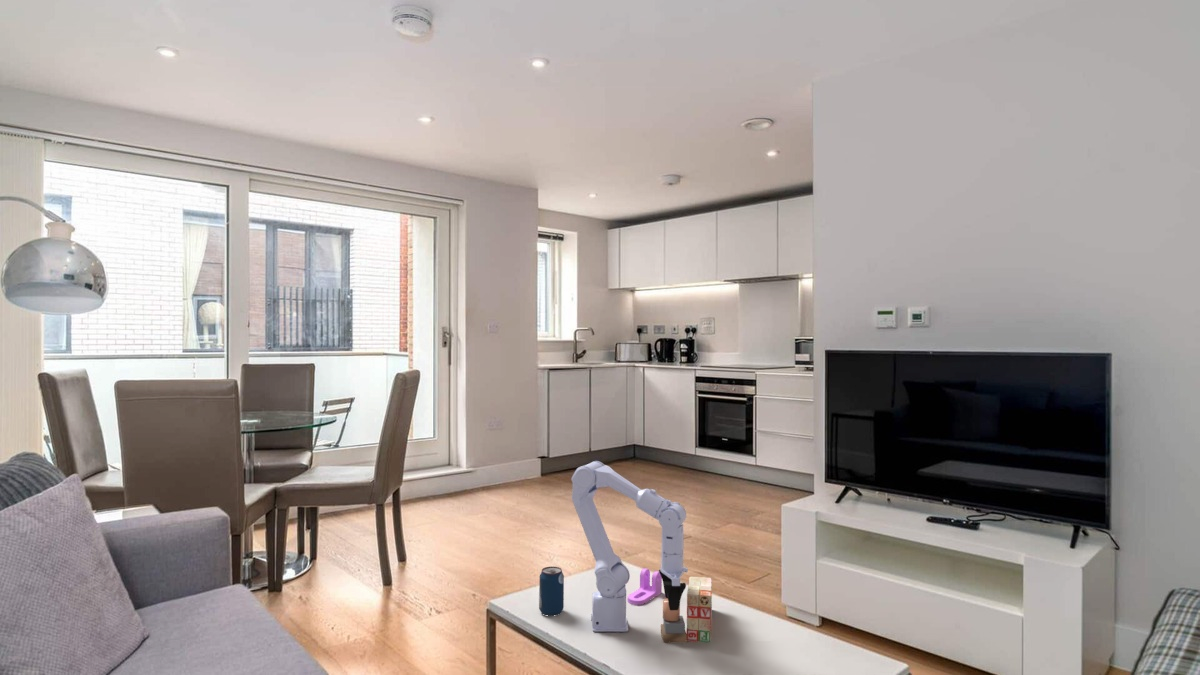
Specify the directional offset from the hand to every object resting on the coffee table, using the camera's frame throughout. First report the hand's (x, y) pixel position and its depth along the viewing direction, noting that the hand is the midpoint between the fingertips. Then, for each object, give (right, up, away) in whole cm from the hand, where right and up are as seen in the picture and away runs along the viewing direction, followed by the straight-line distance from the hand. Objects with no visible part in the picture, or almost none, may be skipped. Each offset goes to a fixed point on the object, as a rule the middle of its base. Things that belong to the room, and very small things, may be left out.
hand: (671, 603), depth 168 cm
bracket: (-6, -9, +27) cm, 29 cm away
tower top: (+1, -7, 0) cm, 7 cm away
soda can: (-33, -9, +15) cm, 37 cm away
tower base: (0, -9, 0) cm, 9 cm away
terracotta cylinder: (0, -4, 0) cm, 4 cm away
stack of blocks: (+9, -9, +8) cm, 15 cm away
